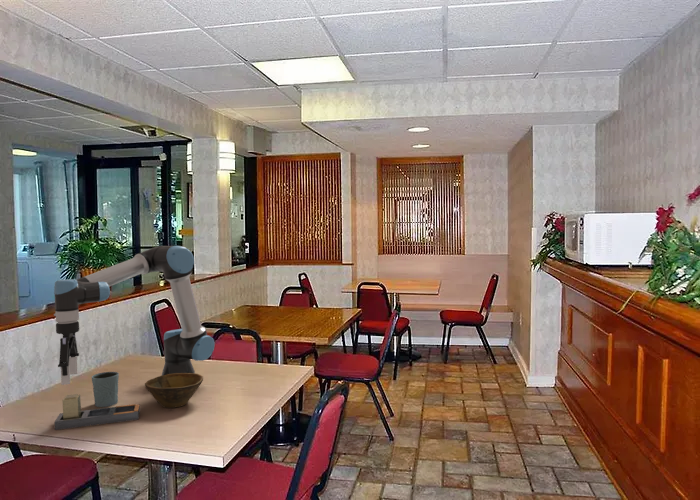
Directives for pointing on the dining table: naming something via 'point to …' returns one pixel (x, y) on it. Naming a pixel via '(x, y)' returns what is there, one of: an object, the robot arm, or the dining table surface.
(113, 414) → the grey compartment tray
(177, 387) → the bowl
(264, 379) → the dining table surface
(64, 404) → the beige recessed-panel block
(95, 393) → the grey-green cup
